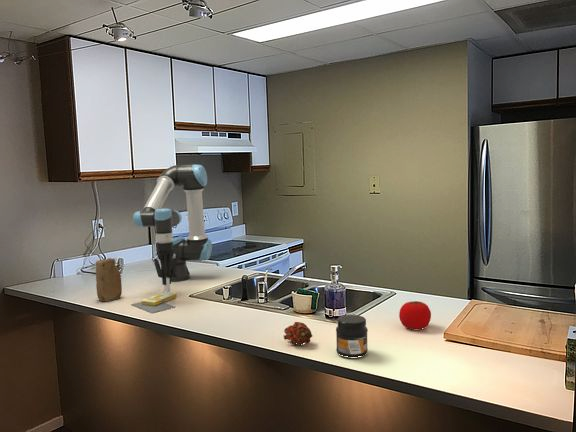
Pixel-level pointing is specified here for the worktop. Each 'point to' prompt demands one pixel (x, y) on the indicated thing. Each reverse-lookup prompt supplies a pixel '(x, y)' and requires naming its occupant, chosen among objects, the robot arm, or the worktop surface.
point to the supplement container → (351, 336)
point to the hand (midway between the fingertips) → (167, 291)
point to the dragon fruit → (298, 333)
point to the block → (108, 280)
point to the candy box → (158, 298)
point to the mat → (153, 307)
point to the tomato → (415, 315)
